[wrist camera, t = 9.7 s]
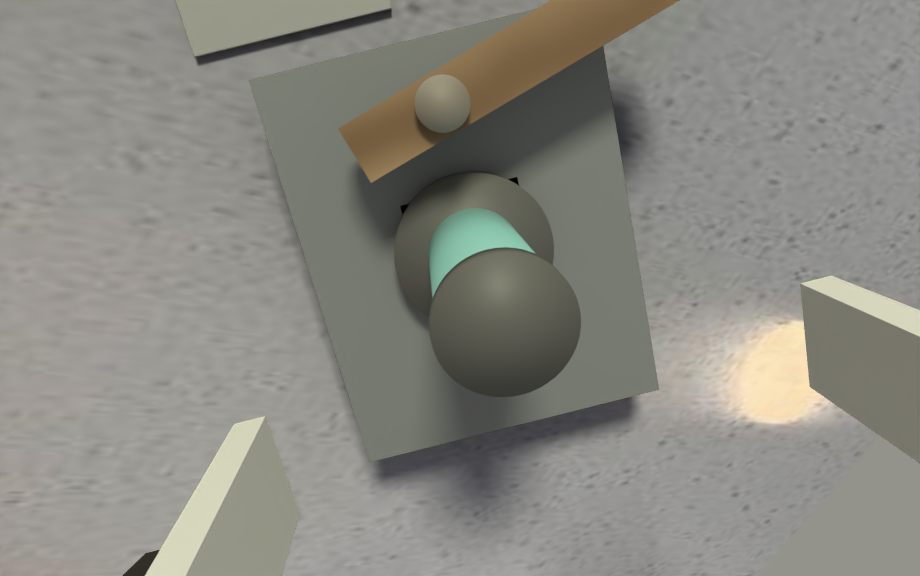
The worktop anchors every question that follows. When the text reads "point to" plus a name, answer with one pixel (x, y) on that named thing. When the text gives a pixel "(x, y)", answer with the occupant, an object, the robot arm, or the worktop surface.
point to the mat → (262, 19)
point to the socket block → (382, 202)
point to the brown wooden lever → (488, 78)
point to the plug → (487, 283)
